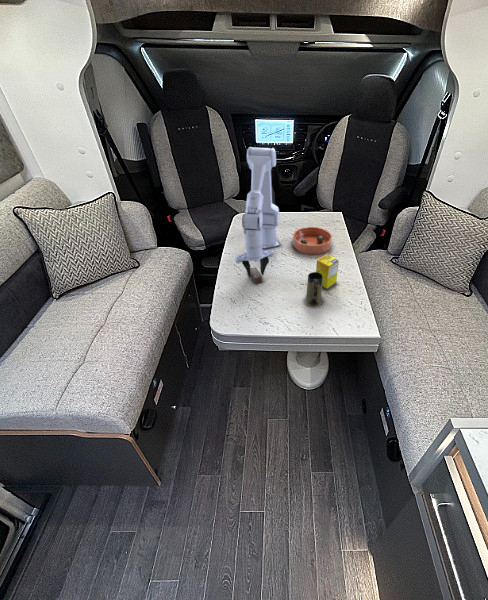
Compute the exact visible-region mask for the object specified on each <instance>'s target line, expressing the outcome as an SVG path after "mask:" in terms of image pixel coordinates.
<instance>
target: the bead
mask: <svg viewBox="0 0 488 600" xmlns="http://www.w3.org/2000/svg"><path fill="white" fill-rule="evenodd" d="M323 240H324V238H323V237H322V236H318V237H317V241H318V242H319V243H321V242H323Z"/></svg>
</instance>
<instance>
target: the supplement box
mask: <svg viewBox="0 0 488 600" xmlns="http://www.w3.org/2000/svg"><path fill="white" fill-rule="evenodd" d="M339 262H340V260H339V259H338V258H336V257H334V256H332V255H330V254H328V253H327V254H325V255H323V256H321V257H319V258H317V259H316V267H315V272H318V273H320V274H322V276H323V279H322V289H323V290H325V291H327V290H329V289H331V288H332V287H334V286H335V285H337V281H338V272H339V271H338V270H339Z"/></svg>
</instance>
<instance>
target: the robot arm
mask: <svg viewBox="0 0 488 600" xmlns="http://www.w3.org/2000/svg"><path fill="white" fill-rule="evenodd" d="M276 152H277V151H276V149H275V148H274V147H272V148H271V147H254V146H253V147H252V146H249V147H248V148H247V150H246V162H247V164H248V168H249V169H250V170H251V180H250V181H251V182H250V183H251V185H250V191H249V192H248V193H246V194H247V195H246V203H245V211H244V213H243V214H242V216H241V227H242V229H243V234H244V236H245V237H244V238H245V249H246V252H245V253H243V254H239V255H237V256H234V261H235V264H236V265H238V264H240V263H241V264H242V266H243V267H244V268H245V270H246V271H245V272H246V274H247V276H248V278H252V276H251V273H250V268H251V264H250V262H251V261H252V262H253V261H254V262H255V263H258V262H259V265H260V266H259V269H260V270H259V272H260V275H261V276H264V275H265V271H266V268H267V266H268V264H269V263H270V259H269V258H274V256H275V254H274V251H273V249H269V248H274V247H279V246H280V243H279V242H278V240H277V227H278V226H279V225H280V218H281V216H280V215H281V214H280V208H279V206H277V204H275V205H274V204H273V203H272V188H273V187H272V188H271V180H272V168H274V167H276V166H277V153H276ZM264 249H265V250H264ZM266 249H267V250H266Z"/></svg>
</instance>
